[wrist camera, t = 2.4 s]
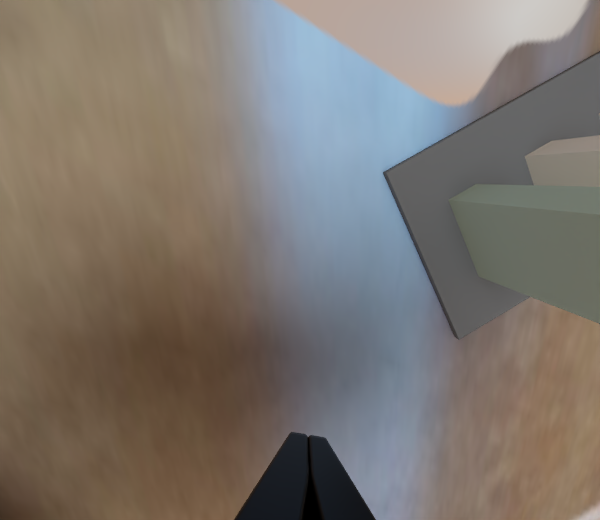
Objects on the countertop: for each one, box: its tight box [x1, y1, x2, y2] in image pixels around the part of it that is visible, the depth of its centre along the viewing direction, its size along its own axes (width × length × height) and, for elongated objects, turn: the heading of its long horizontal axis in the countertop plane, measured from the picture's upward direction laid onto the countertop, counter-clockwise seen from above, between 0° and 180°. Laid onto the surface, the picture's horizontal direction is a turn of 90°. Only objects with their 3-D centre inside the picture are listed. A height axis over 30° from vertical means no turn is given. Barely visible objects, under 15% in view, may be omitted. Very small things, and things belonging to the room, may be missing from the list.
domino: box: [449, 184, 600, 324], centre depth 17 cm, size 2×5×9 cm, turn 27°
